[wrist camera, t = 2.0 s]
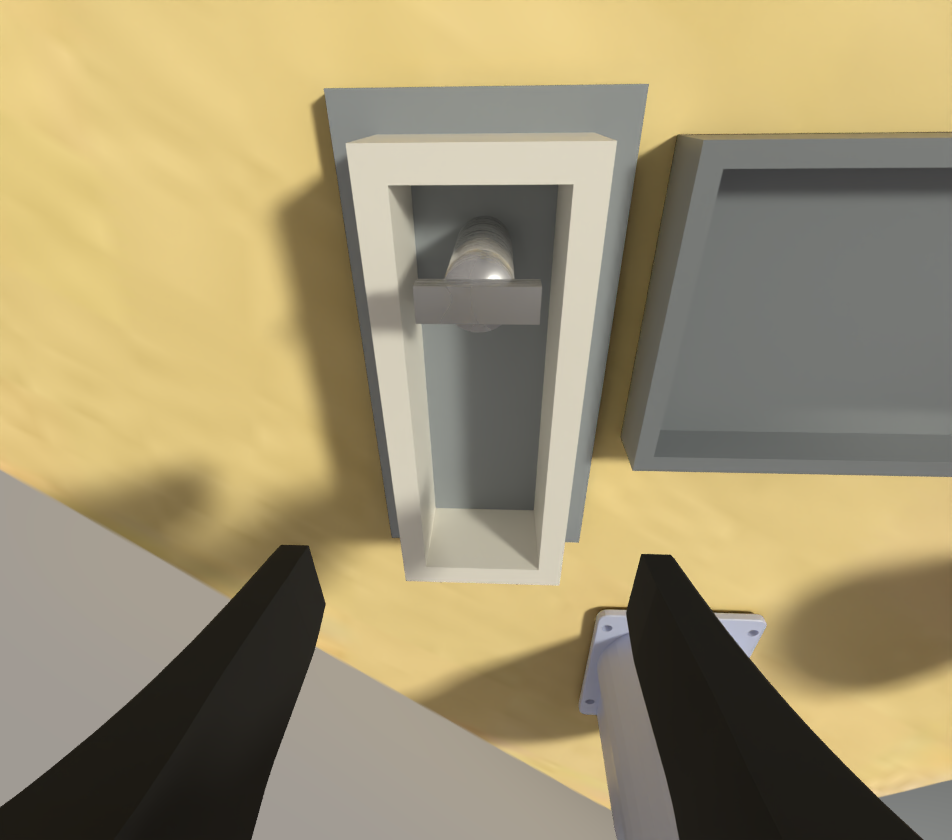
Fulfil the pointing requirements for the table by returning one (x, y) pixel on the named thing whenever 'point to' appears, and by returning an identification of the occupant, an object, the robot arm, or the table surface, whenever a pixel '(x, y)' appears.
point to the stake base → (490, 281)
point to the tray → (799, 308)
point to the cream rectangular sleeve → (401, 343)
